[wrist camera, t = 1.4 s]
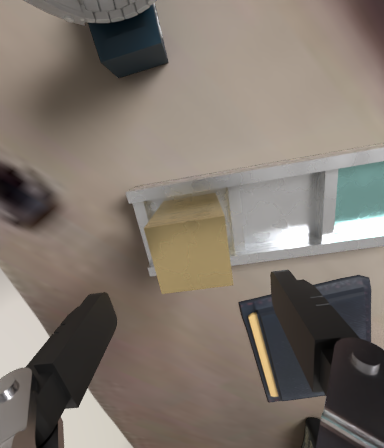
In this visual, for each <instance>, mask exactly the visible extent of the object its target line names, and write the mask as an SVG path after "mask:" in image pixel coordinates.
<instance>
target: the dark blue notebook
mask: <svg viewBox="0 0 384 448" xmlns="http://www.w3.org/2000/svg"><path fill="white" fill-rule="evenodd" d="M314 286H315V287H316V288H317V289H318V290H319V292H320V293H321V294H322V295H323V297H325V298H326V300H327V301H328V302H329V304H330V305H332V307H333V308H334V309H335V310H336V311H337V312H338V313H339V315H340V316H341V317H342V318H343V319H344V320H345V322H346V323H347V324H348V325H349V326H350V327H351V328H352V330H353V331H354V332H355V333H356V334H357V335H358V337H359V338H360V339H363V340H366V341H369V342H371V286H370V280H369V278H368V277H364V276H360V275H356V276H351V277H346V278H341V279H337V280H332V281H328V282H324V283H320V284H316V285H314ZM239 306H240V310H241V314H242V318H243V320H244V323H245V326H246V329H247V332H248V335H249V339H250V342H251V345H252V349H253V352H254V356H255V359H256V362H257V366H258V369H259V372H260V376H261V379H262V382H263V386H264V389H265V393H266V396H267V399H268V402H275V401H288V400H296V399H303V398H310V397H318V396H325V393H324V392H312V390H311V388H310V385H309V383H308V381H307V379H306V377H305V375H304V373H303V371H302V369H301V366H300V364H299V362H298V360H297V358H296V356H295V354H294V352H293V349H292V347H291V345H290V343H289V341H288V339H287V337H286V335H285V333H284V330H283V328H282V326H281V324H280V322H279V320H278V318H277V316H276V314H275V311H274V308H273V304H272V295H267V296H262V297H258V298H254V299H250V300H246V301H241V302H239Z"/></svg>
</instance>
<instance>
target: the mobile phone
mask: <svg viewBox="0 0 384 448" xmlns="http://www.w3.org/2000/svg"><path fill="white" fill-rule="evenodd" d="M320 421H321V420H320V419H318V418H308V419H307V420H306V427H305V435H304V441H303V444H302V448H316V444H317V438H318V432H319V427H320Z"/></svg>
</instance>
